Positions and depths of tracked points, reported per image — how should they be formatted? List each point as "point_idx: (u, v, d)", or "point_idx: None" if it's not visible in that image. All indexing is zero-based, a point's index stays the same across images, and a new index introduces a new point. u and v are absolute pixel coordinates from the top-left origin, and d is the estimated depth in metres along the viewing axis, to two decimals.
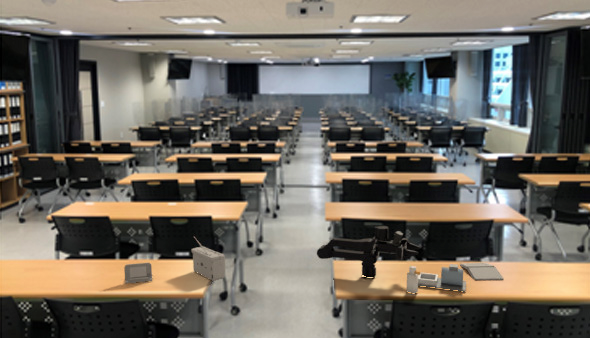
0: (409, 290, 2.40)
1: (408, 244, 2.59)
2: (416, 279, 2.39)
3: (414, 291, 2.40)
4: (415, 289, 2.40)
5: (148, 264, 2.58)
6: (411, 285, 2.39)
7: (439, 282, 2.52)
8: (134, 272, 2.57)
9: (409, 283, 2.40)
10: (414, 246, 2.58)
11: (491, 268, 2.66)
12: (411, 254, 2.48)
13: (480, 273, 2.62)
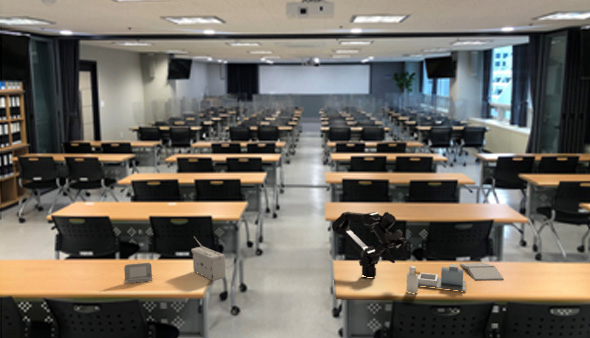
0: (409, 290, 2.40)
1: (401, 247, 2.51)
2: (416, 279, 2.39)
3: (414, 291, 2.40)
4: (415, 289, 2.40)
5: (148, 264, 2.58)
6: (411, 285, 2.39)
7: (439, 282, 2.52)
8: (134, 272, 2.57)
9: (409, 283, 2.40)
10: (403, 253, 2.50)
11: (491, 268, 2.66)
12: (388, 258, 2.44)
13: (480, 273, 2.62)
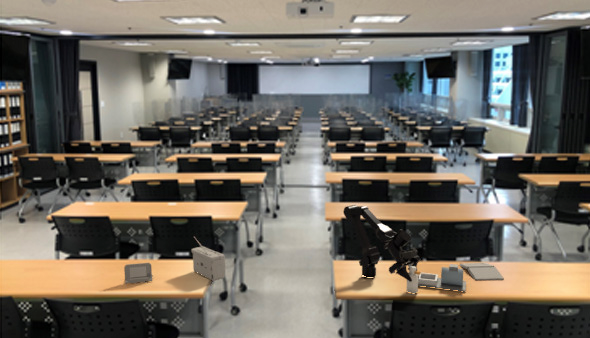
0: (409, 290, 2.40)
1: None
2: (416, 279, 2.39)
3: (414, 291, 2.40)
4: (415, 289, 2.40)
5: (148, 264, 2.58)
6: (411, 285, 2.39)
7: (439, 282, 2.52)
8: (134, 273, 2.57)
9: (409, 283, 2.40)
10: None
11: (491, 268, 2.66)
12: (405, 276, 2.40)
13: (480, 273, 2.61)
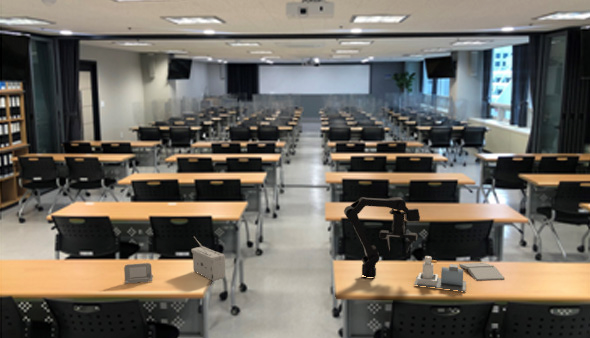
0: None
1: (388, 238, 2.64)
2: None
3: (432, 279, 2.51)
4: (432, 277, 2.52)
5: (148, 264, 2.57)
6: (430, 274, 2.50)
7: (439, 282, 2.52)
8: (134, 273, 2.57)
9: (427, 273, 2.50)
10: (389, 245, 2.64)
11: (491, 268, 2.66)
12: None
13: (481, 273, 2.61)
